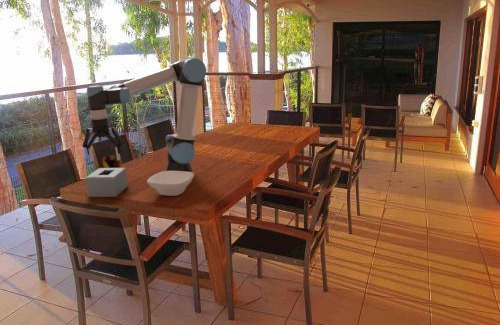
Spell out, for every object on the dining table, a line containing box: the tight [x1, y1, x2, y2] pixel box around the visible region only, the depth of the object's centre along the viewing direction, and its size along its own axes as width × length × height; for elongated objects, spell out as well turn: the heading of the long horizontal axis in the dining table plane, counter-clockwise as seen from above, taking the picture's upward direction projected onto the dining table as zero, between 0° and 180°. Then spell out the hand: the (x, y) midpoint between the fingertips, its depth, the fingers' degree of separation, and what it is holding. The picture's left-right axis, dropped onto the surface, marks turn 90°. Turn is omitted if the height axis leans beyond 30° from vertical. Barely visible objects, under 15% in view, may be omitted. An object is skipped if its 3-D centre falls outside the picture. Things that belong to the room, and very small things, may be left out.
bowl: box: [146, 170, 195, 197], centre depth 215 cm, size 21×21×9 cm
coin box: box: [85, 167, 128, 198], centre depth 222 cm, size 14×16×10 cm
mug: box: [102, 155, 123, 168], centre depth 241 cm, size 10×14×12 cm
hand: (105, 160), depth 219 cm, fingers open, 13 cm apart
